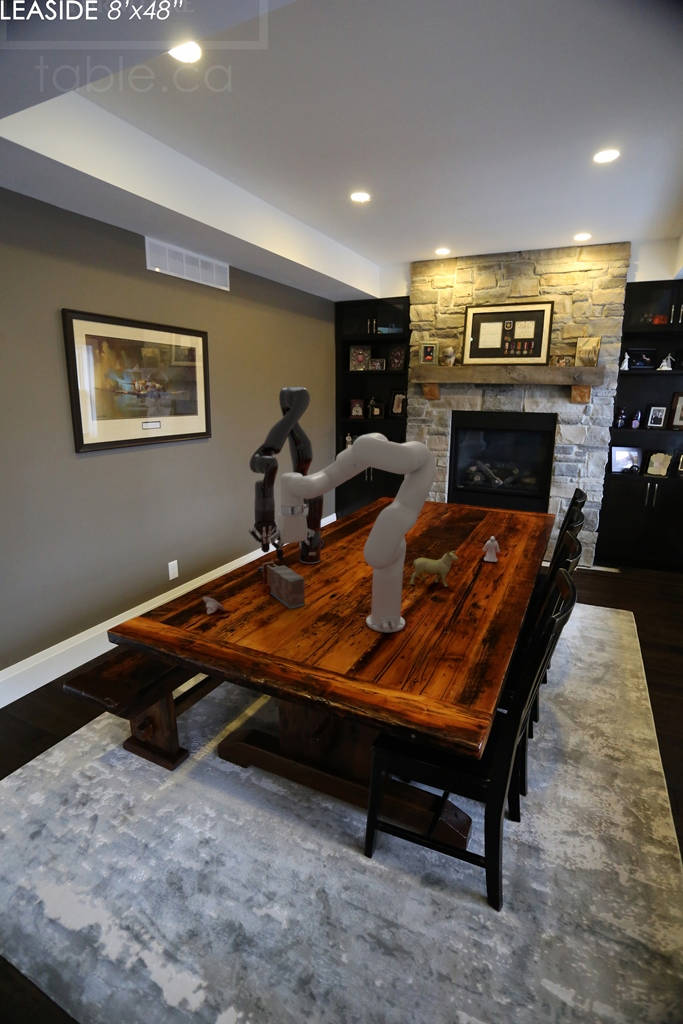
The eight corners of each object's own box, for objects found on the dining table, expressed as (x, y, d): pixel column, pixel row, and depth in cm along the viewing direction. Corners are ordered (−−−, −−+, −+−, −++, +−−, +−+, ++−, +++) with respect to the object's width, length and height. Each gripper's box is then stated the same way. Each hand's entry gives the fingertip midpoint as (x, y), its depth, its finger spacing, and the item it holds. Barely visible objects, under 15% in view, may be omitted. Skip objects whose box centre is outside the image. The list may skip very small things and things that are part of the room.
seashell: (209, 622, 169) (193, 604, 168) (220, 611, 173) (205, 594, 172) (217, 618, 163) (201, 599, 162) (228, 607, 167) (213, 589, 166)
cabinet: (270, 593, 185) (270, 568, 182) (284, 590, 188) (284, 565, 185) (290, 609, 172) (289, 581, 170) (304, 605, 175) (304, 578, 173)
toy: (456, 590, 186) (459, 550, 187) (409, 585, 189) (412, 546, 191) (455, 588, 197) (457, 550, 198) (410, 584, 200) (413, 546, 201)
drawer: (257, 579, 196) (256, 559, 194) (267, 577, 198) (267, 557, 196) (279, 597, 180) (279, 575, 178) (290, 594, 182) (290, 572, 180)
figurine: (481, 562, 222) (483, 536, 219) (482, 556, 230) (484, 531, 227) (499, 564, 220) (501, 538, 217) (499, 558, 228) (501, 533, 225)
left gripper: (276, 504, 194) (276, 546, 198) (244, 507, 187) (245, 552, 191) (285, 508, 188) (285, 551, 192) (252, 512, 181) (253, 557, 185)
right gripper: (309, 504, 176) (308, 550, 180) (264, 510, 167) (264, 558, 171) (319, 508, 170) (319, 556, 174) (273, 515, 161) (274, 565, 165)
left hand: (265, 551), depth 191 cm, fingers closed
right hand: (292, 557), depth 173 cm, fingers open, 9 cm apart
